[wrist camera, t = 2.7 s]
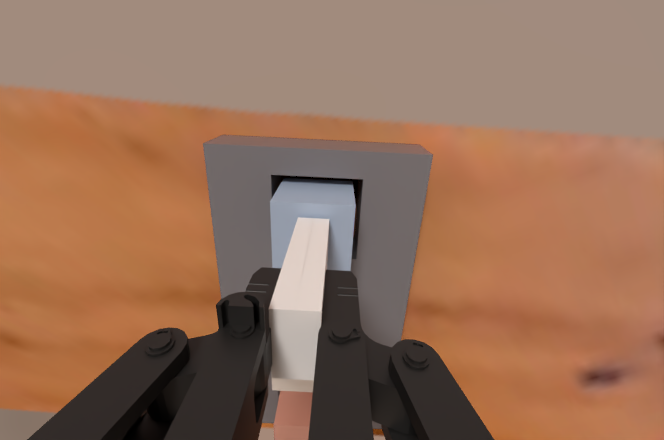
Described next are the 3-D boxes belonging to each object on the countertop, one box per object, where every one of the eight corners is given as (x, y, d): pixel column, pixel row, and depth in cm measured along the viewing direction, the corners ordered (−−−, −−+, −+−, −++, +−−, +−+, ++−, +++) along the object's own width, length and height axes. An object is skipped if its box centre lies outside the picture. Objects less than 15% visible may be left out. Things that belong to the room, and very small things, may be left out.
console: (246, 387, 28) (235, 421, 25) (222, 134, 19) (203, 143, 16) (380, 395, 28) (385, 429, 25) (419, 144, 19) (433, 154, 16)
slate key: (285, 239, 20) (272, 273, 16) (284, 177, 18) (270, 201, 15) (348, 242, 20) (349, 277, 16) (352, 181, 18) (355, 205, 15)
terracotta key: (285, 407, 24) (275, 464, 21) (284, 369, 23) (273, 424, 19) (336, 409, 24) (336, 467, 21) (339, 372, 23) (339, 428, 19)
